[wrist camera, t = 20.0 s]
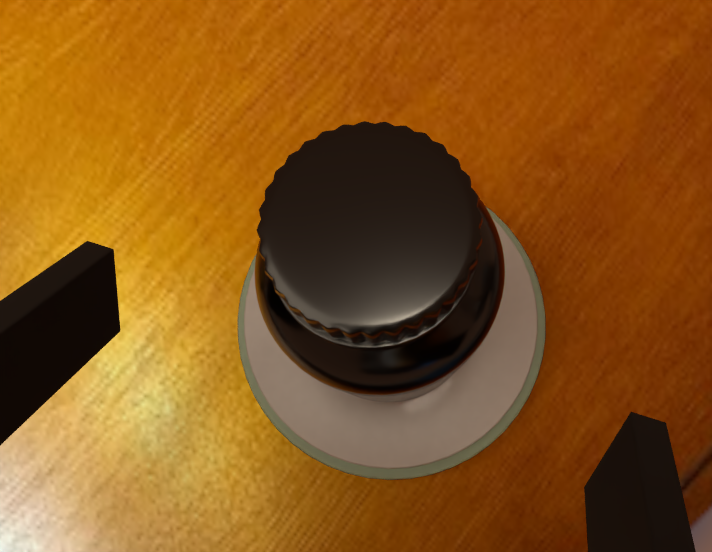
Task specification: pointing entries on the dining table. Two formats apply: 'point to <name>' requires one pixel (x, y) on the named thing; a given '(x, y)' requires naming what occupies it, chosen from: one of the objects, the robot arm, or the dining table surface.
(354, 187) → the supplement bottle
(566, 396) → the dining table surface
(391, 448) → the scale
